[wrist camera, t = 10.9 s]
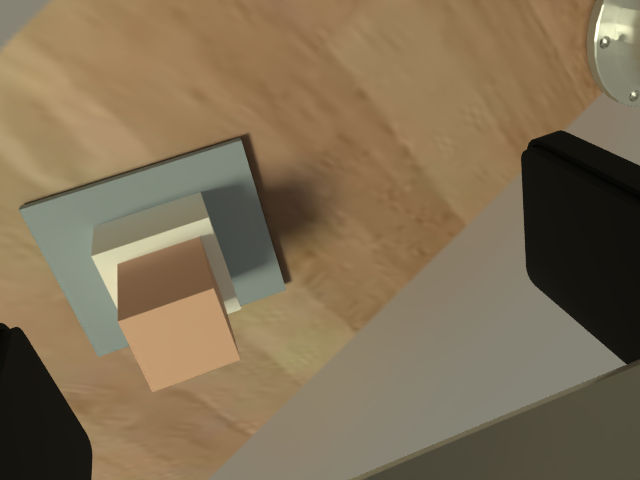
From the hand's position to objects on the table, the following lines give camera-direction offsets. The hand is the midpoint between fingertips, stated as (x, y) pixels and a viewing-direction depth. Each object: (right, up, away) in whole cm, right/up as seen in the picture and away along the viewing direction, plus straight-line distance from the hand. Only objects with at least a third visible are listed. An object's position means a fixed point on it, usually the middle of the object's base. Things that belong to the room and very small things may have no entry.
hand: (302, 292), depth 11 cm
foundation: (-10, 0, +30) cm, 31 cm away
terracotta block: (-9, -2, +26) cm, 27 cm away
